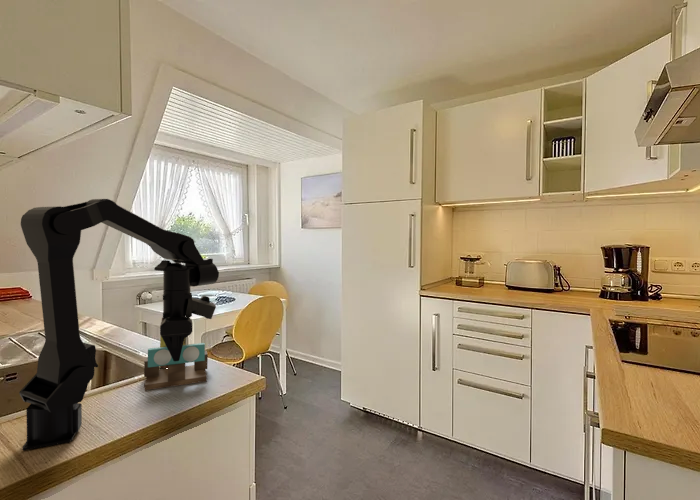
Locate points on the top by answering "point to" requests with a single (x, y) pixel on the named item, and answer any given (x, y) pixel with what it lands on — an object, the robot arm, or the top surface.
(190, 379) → the stand
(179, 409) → the top surface
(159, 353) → the glasses
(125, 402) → the top surface
